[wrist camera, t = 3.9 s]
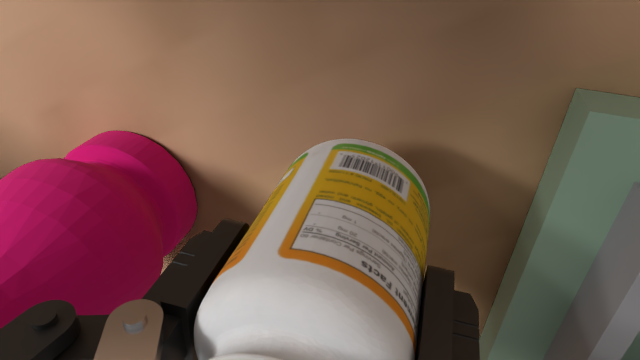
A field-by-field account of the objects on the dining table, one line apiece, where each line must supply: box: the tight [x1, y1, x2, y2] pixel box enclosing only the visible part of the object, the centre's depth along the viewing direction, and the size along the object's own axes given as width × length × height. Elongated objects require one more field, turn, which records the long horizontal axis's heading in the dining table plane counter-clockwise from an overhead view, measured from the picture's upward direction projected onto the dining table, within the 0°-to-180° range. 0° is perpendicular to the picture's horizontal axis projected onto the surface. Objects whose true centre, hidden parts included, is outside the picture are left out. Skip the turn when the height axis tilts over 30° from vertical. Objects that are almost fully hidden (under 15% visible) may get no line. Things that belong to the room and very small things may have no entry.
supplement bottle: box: [194, 138, 430, 360], centre depth 12 cm, size 5×5×10 cm
